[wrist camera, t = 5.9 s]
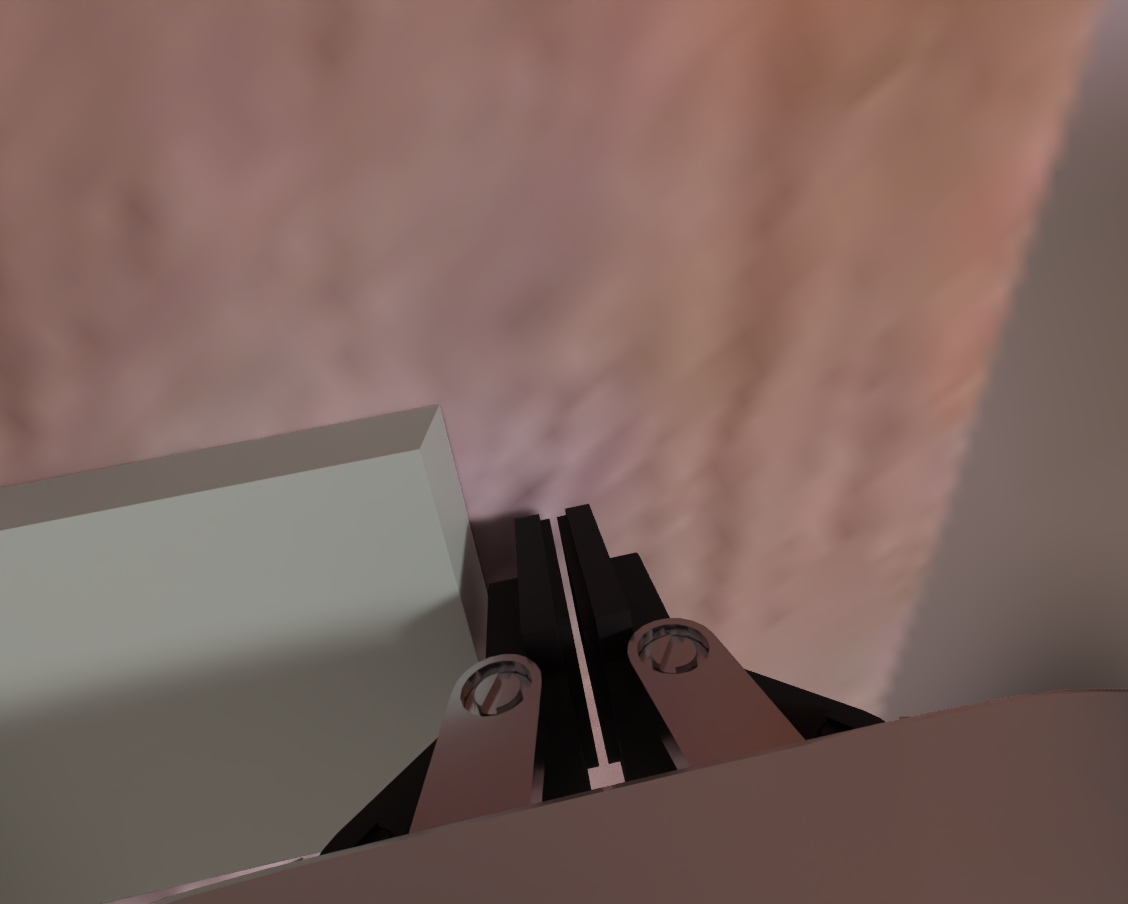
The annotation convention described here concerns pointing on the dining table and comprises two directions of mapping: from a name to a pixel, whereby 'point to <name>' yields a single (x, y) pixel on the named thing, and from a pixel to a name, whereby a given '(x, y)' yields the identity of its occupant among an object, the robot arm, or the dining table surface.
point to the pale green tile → (224, 652)
